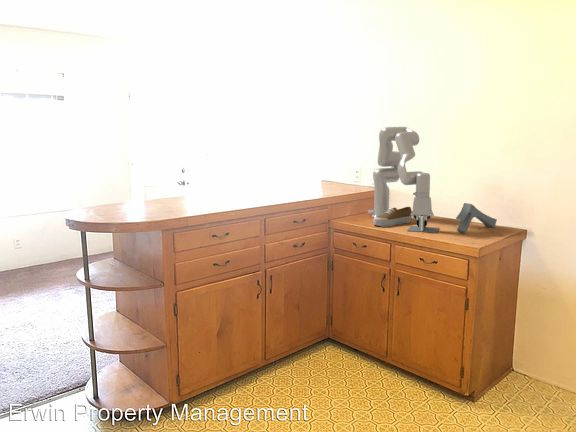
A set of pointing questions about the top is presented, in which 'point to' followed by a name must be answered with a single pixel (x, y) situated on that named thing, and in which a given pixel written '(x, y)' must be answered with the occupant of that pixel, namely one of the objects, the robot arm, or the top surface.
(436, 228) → the mat
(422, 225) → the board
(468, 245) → the top surface
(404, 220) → the sneaker
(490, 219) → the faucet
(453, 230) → the top surface
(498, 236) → the top surface
